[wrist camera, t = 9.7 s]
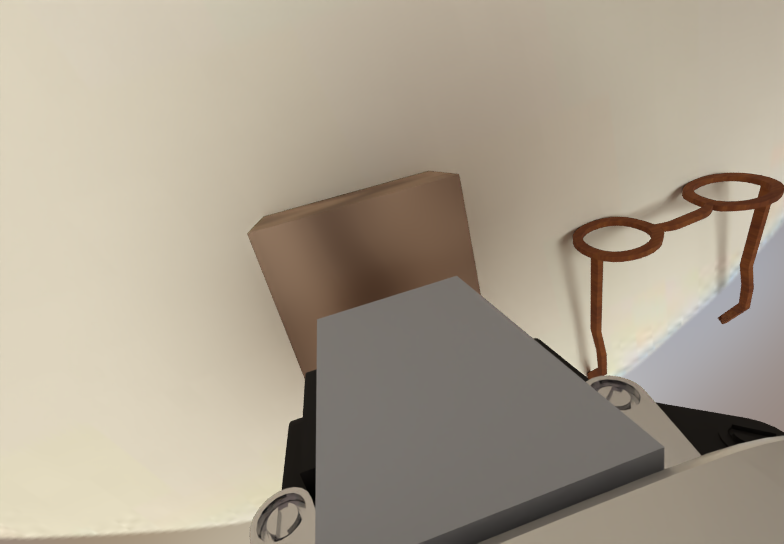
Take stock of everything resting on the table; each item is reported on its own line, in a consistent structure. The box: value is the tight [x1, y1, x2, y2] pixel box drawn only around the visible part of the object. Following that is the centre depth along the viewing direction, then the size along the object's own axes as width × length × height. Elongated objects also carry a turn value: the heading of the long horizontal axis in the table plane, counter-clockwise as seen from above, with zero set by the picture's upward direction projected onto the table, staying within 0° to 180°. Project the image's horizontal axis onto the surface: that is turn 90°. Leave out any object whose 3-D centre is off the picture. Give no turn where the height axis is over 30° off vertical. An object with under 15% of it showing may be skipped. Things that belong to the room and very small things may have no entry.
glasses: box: [573, 173, 784, 380], centre depth 25 cm, size 13×13×5 cm
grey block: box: [315, 276, 664, 544], centre depth 9 cm, size 5×5×8 cm
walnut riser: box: [247, 171, 481, 378], centre depth 20 cm, size 10×10×5 cm
